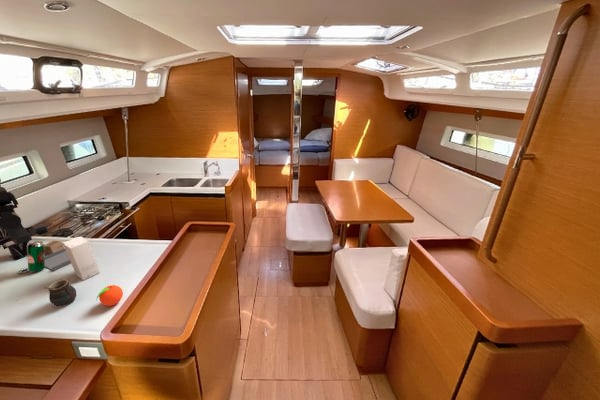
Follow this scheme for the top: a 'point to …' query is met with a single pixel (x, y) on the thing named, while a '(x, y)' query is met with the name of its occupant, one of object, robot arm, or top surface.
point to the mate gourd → (61, 293)
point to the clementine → (110, 295)
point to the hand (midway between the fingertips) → (24, 255)
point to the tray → (57, 260)
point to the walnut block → (53, 247)
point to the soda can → (36, 256)
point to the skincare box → (81, 257)
